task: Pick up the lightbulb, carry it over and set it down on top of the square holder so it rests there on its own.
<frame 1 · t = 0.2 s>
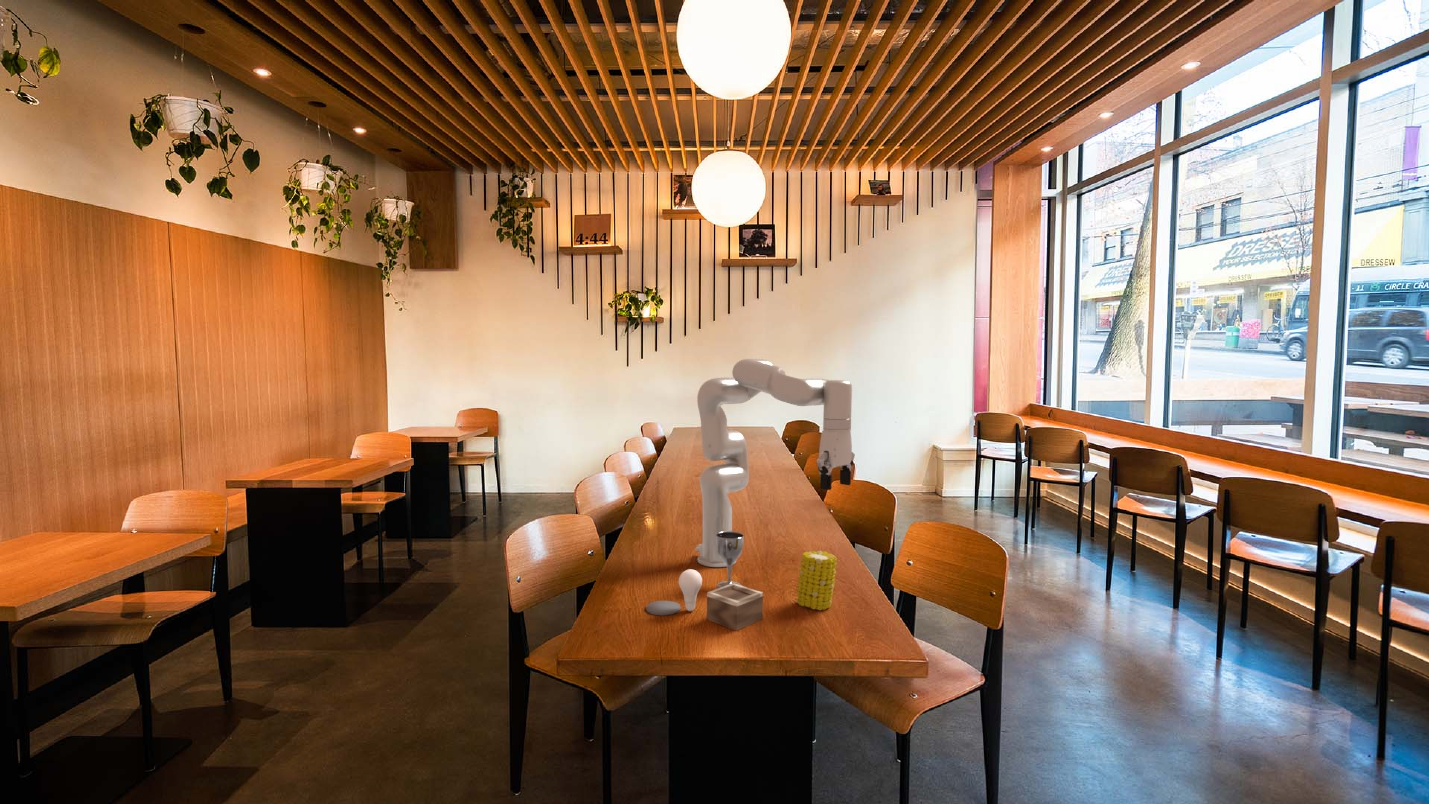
hand: (835, 486, 184), 31 cm above the table, tool pointing down, fingers open, 9 cm apart
wine glass: (729, 586, 194), on the table
square holder: (734, 619, 168), on the table
food: (816, 605, 179), on the table
grey flat disc: (663, 609, 175), on the table
lightbulb: (690, 611, 174), on the table
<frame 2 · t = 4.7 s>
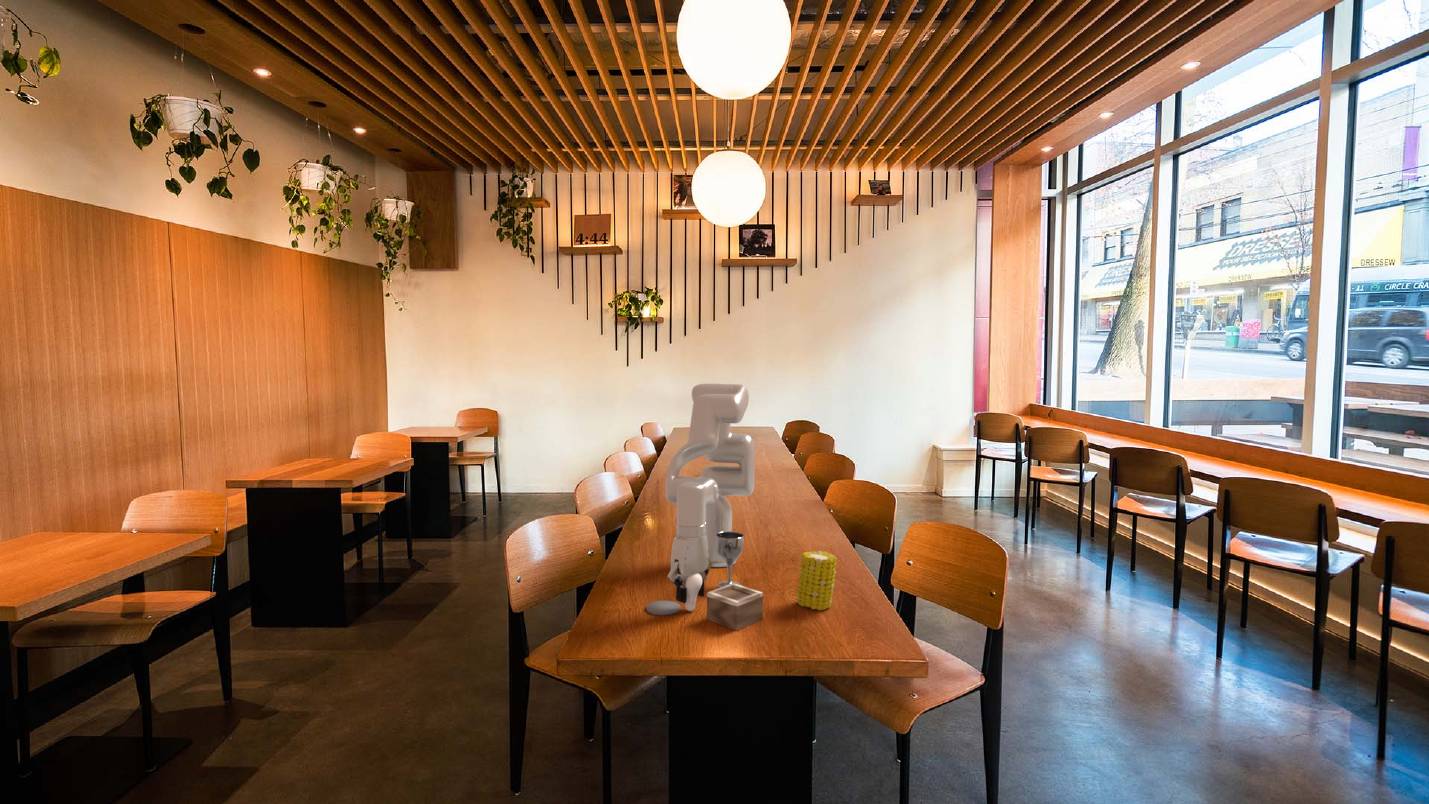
hand: (690, 597, 174), 4 cm above the table, tool pointing down, fingers closed on lightbulb, 5 cm apart
lightbulb: (690, 611, 174), on the table, touching gripper
everything else where it was.
when the fingers open (11 cm above the table, at t = 9.2 s): lightbulb drops 1 cm, resting on square holder.
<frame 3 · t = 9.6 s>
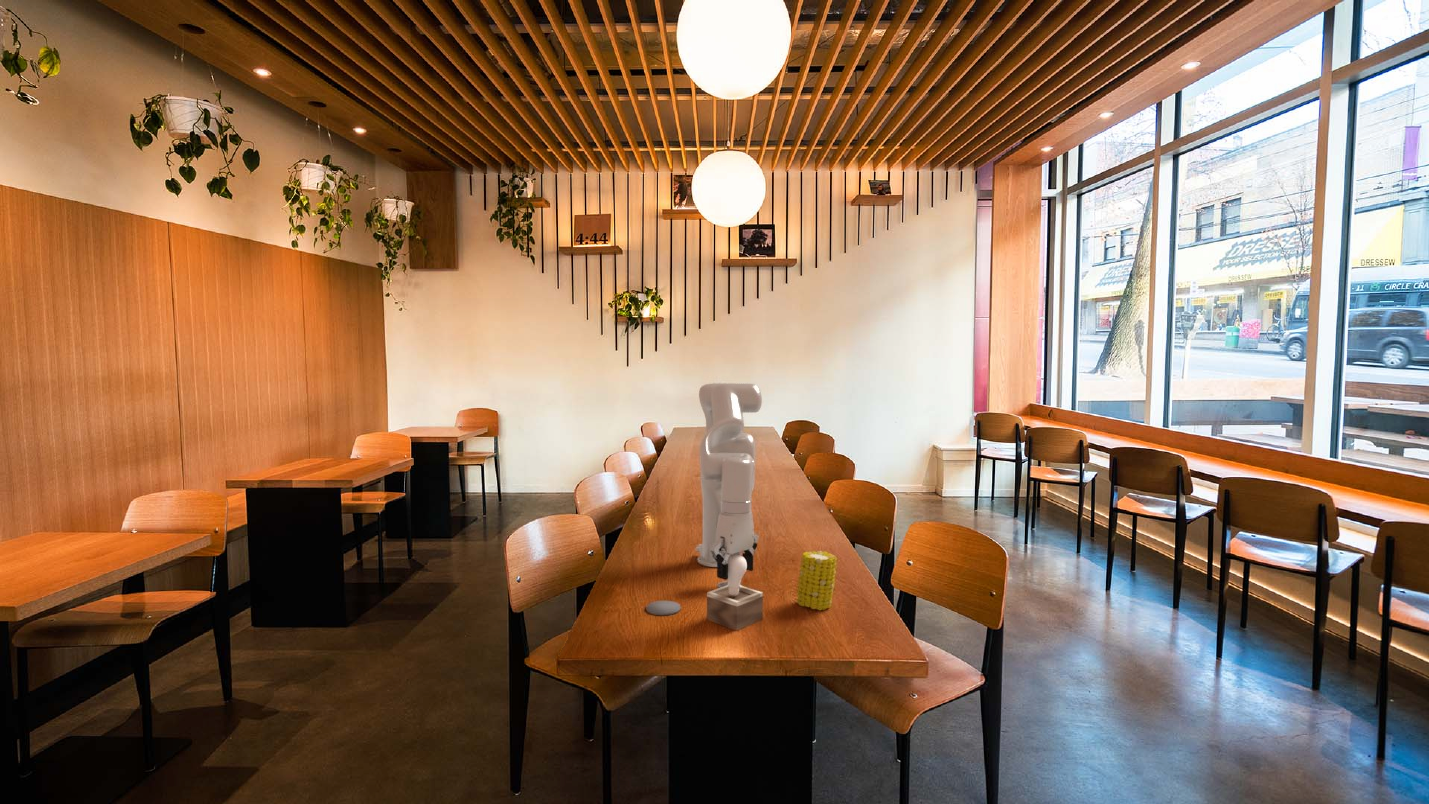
hand: (735, 573, 168), 12 cm above the table, tool pointing down, fingers open, 9 cm apart
lightbulb: (733, 597, 168), point 6 cm above the table, touching square holder
everything else where it was.
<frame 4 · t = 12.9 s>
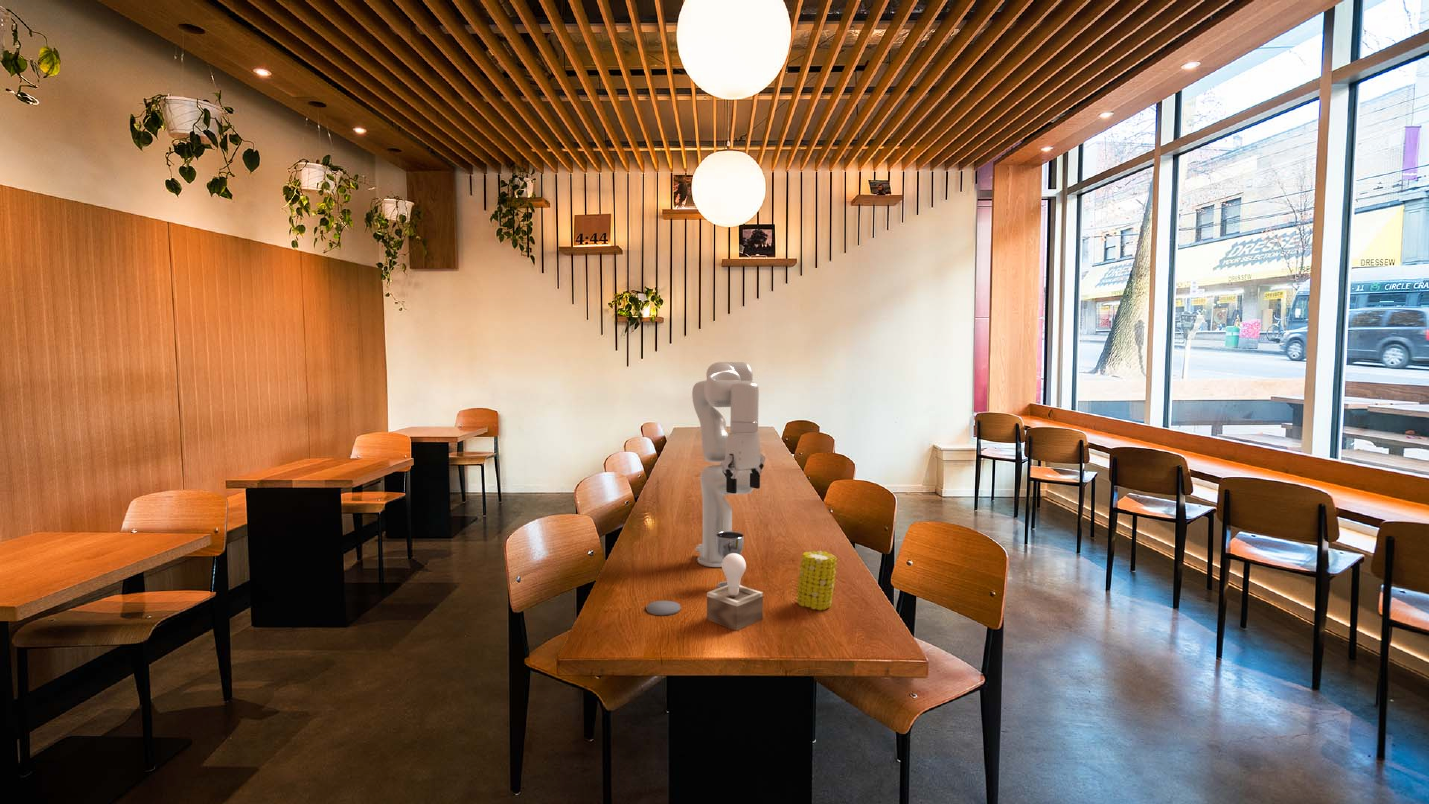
hand: (743, 490, 181), 30 cm above the table, tool pointing down, fingers open, 9 cm apart
nothing on the table moved.
at the end: lightbulb 0.4 cm from the square holder (horizontally); lightbulb point 5.8 cm above the table; the gripper is holding nothing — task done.
